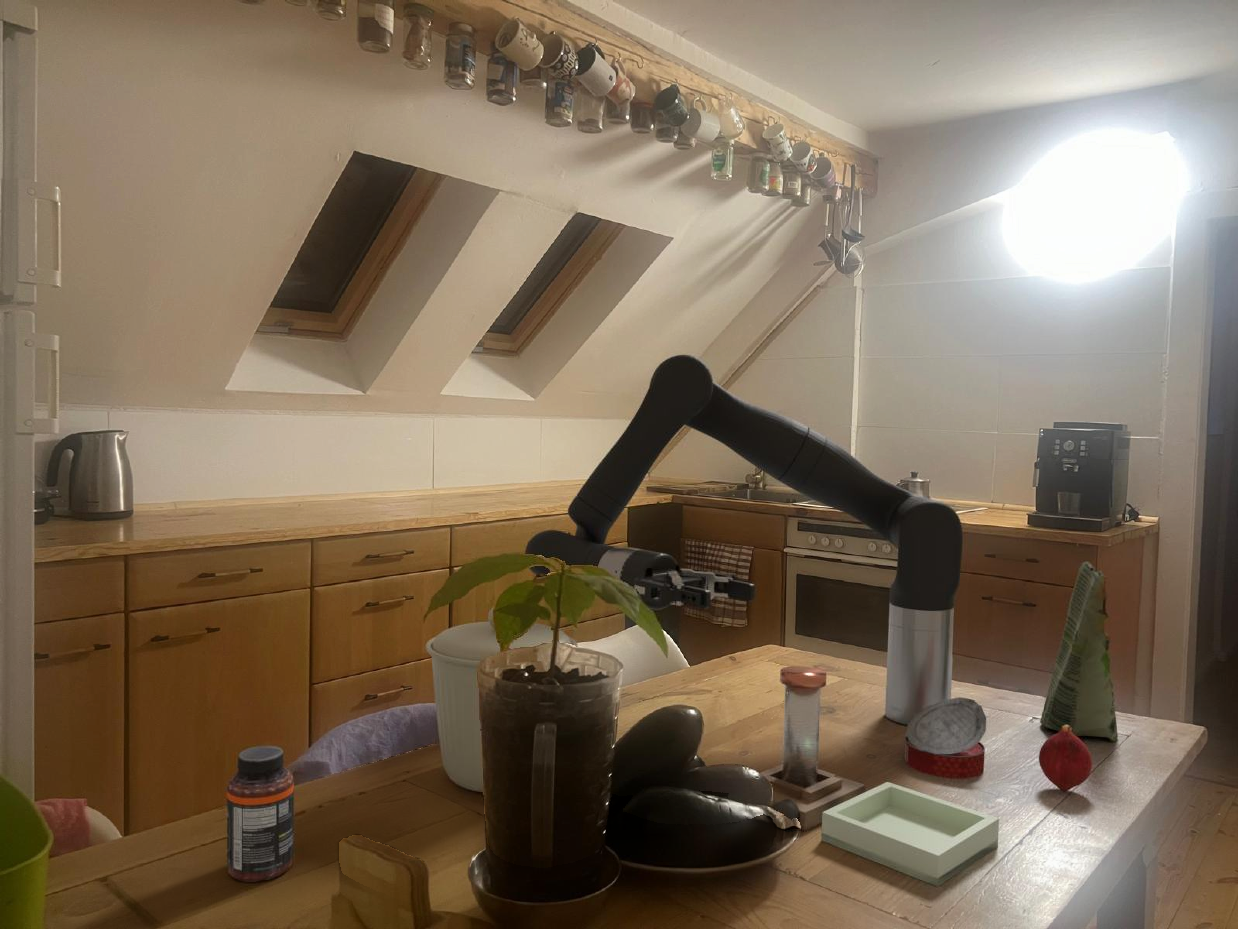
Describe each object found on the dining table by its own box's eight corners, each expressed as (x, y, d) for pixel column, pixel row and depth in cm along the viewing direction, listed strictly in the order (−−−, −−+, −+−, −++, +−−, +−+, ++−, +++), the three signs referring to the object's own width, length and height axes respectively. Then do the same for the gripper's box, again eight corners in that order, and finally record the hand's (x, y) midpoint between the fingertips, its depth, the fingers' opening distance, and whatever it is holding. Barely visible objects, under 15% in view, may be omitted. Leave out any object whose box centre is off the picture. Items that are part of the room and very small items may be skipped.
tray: (886, 807, 107) (887, 781, 107) (997, 846, 98) (999, 818, 98) (821, 840, 98) (822, 812, 98) (937, 886, 89) (938, 855, 89)
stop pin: (794, 773, 112) (797, 664, 111) (831, 786, 108) (835, 673, 107) (767, 784, 108) (771, 671, 107) (804, 797, 104) (809, 680, 104)
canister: (575, 752, 122) (579, 593, 121) (573, 809, 104) (578, 622, 103) (436, 750, 122) (439, 590, 121) (410, 808, 104) (413, 619, 103)
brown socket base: (793, 777, 116) (794, 753, 116) (864, 802, 109) (865, 776, 108) (722, 805, 106) (723, 780, 106) (795, 835, 99) (796, 807, 99)
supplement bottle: (238, 855, 91) (239, 741, 91) (300, 854, 92) (301, 741, 91) (217, 885, 85) (218, 763, 85) (283, 884, 86) (285, 763, 85)
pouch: (1072, 716, 144) (1080, 555, 143) (1145, 741, 133) (1154, 566, 132) (1020, 725, 139) (1028, 558, 138) (1091, 751, 128) (1100, 570, 127)
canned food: (983, 810, 119) (1007, 755, 114) (904, 798, 119) (924, 743, 114) (964, 743, 129) (986, 690, 124) (891, 732, 129) (909, 678, 124)
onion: (1096, 802, 110) (1099, 735, 110) (1044, 797, 111) (1047, 731, 111) (1082, 784, 116) (1085, 720, 116) (1032, 779, 117) (1035, 716, 117)
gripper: (600, 552, 121) (694, 570, 110) (674, 546, 131) (768, 561, 120) (598, 610, 122) (691, 634, 110) (672, 599, 132) (765, 619, 120)
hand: (731, 596), depth 115 cm, fingers open, 8 cm apart
